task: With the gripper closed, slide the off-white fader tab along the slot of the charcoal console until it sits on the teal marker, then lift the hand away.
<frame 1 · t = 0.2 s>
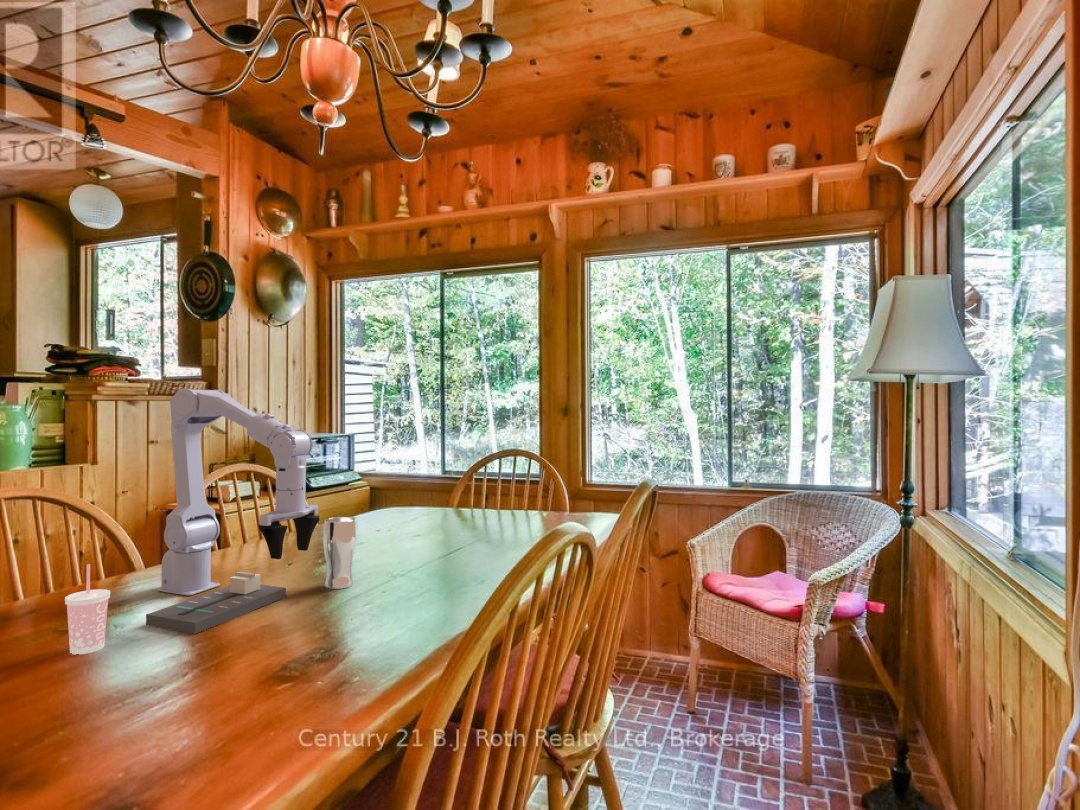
hand: (289, 554, 124), 10 cm above the table, tool pointing down, fingers open, 7 cm apart
fader tab: (245, 581, 124), point 4 cm above the table, slide at 0.0 cm
console: (220, 610, 118), on the table
beverage cup: (87, 650, 99), on the table
beer glass: (339, 586, 136), on the table
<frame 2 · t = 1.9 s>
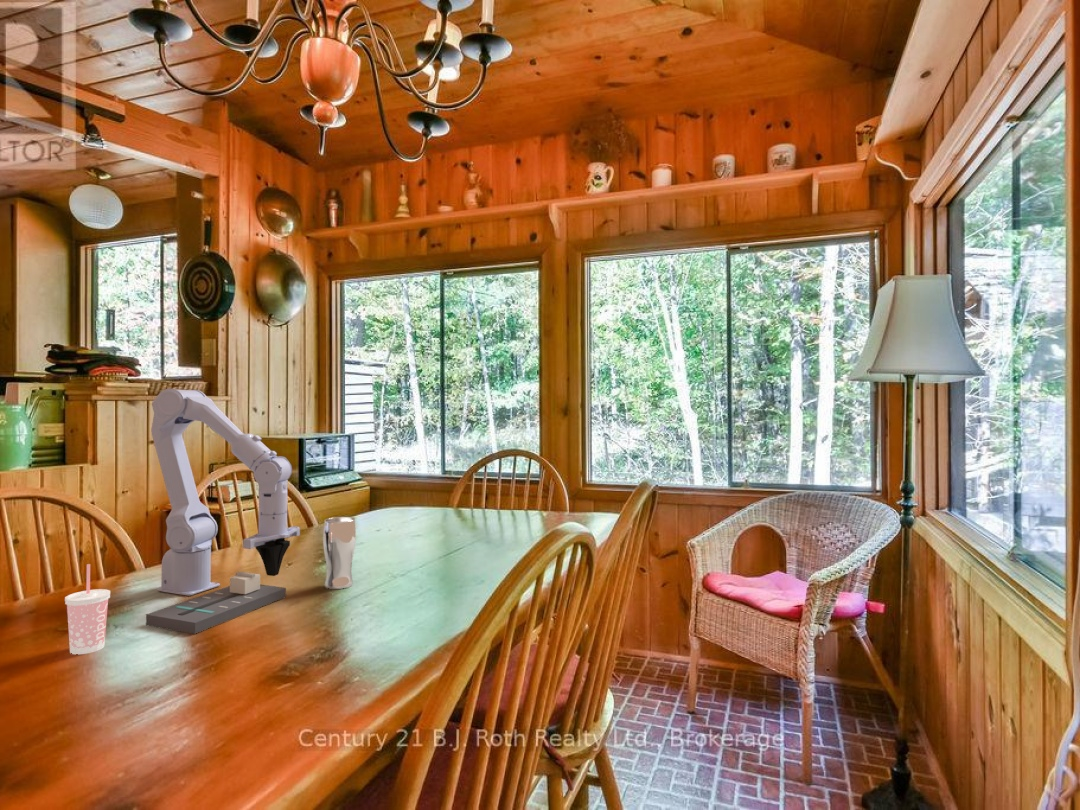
hand: (272, 574, 131), 3 cm above the table, tool pointing down, fingers closed
nothing on the table moved.
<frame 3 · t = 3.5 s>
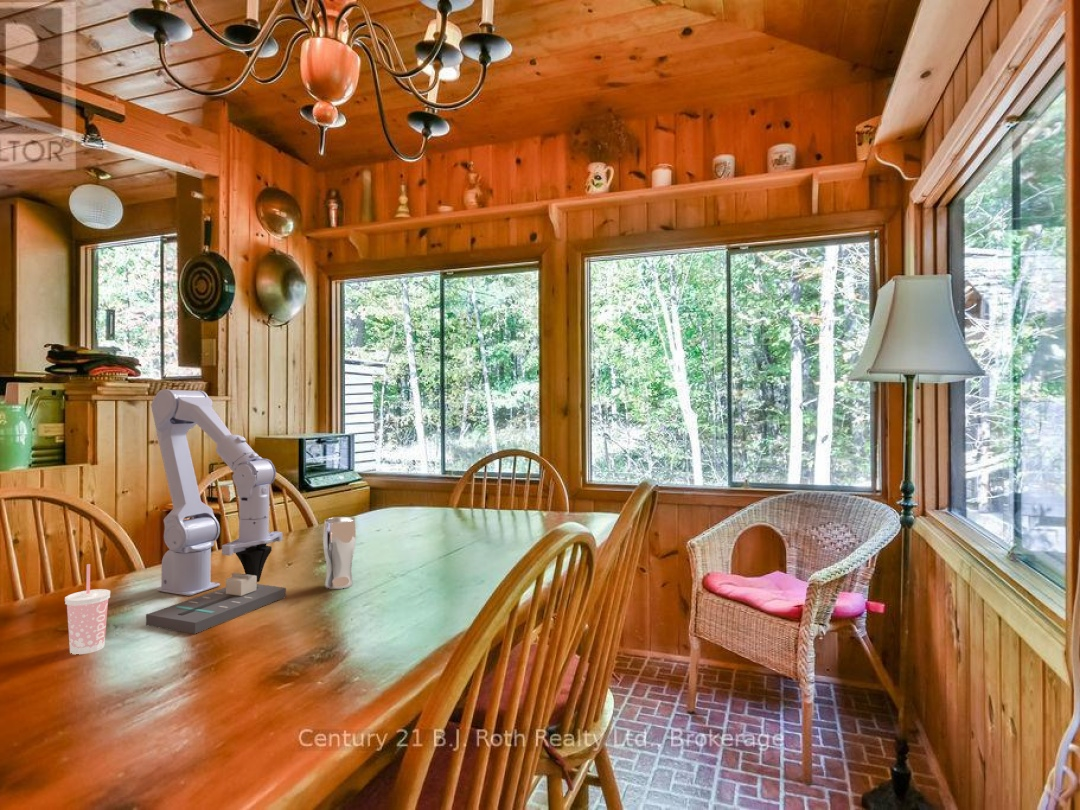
hand: (253, 581, 126), 3 cm above the table, tool pointing down, fingers closed
fader tab: (241, 583, 123), point 4 cm above the table, slide at 1.0 cm, touching gripper
everything else where it was.
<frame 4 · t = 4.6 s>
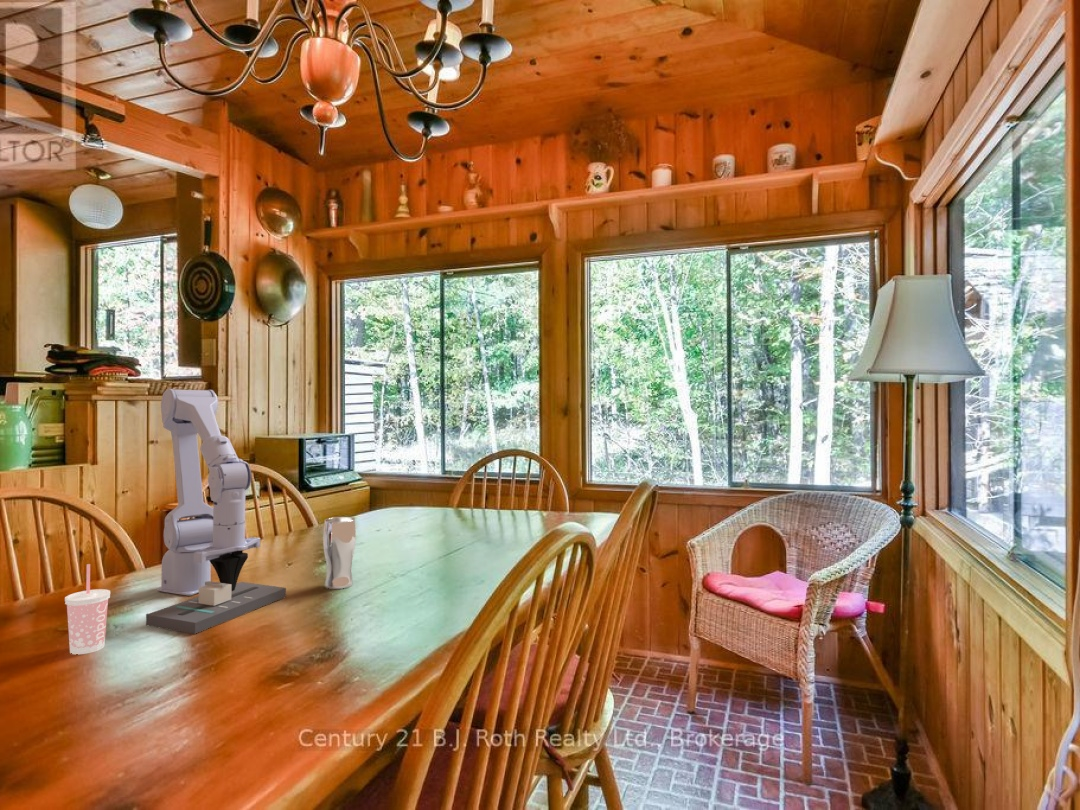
hand: (228, 590, 120), 3 cm above the table, tool pointing down, fingers closed
fader tab: (215, 592, 117), point 4 cm above the table, slide at 7.4 cm, touching gripper
everything else where it was.
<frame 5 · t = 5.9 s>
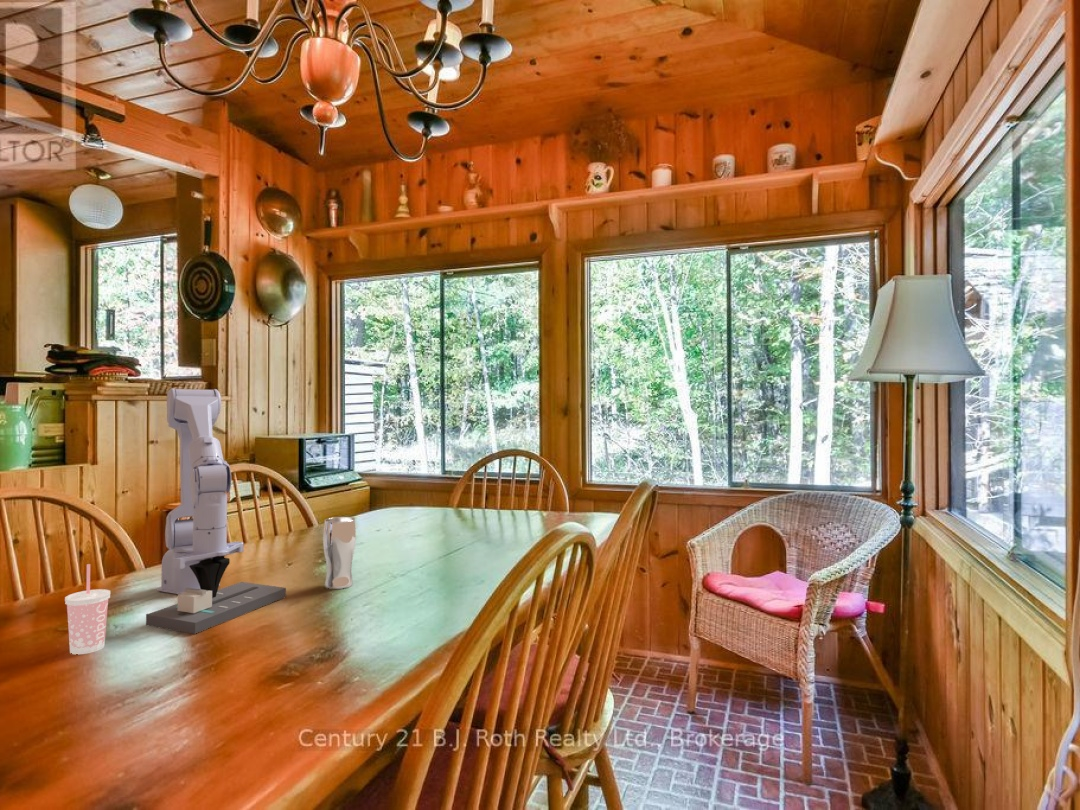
hand: (209, 597, 116), 3 cm above the table, tool pointing down, fingers closed
fader tab: (195, 599, 113), point 4 cm above the table, slide at 11.9 cm, touching gripper
everything else where it was.
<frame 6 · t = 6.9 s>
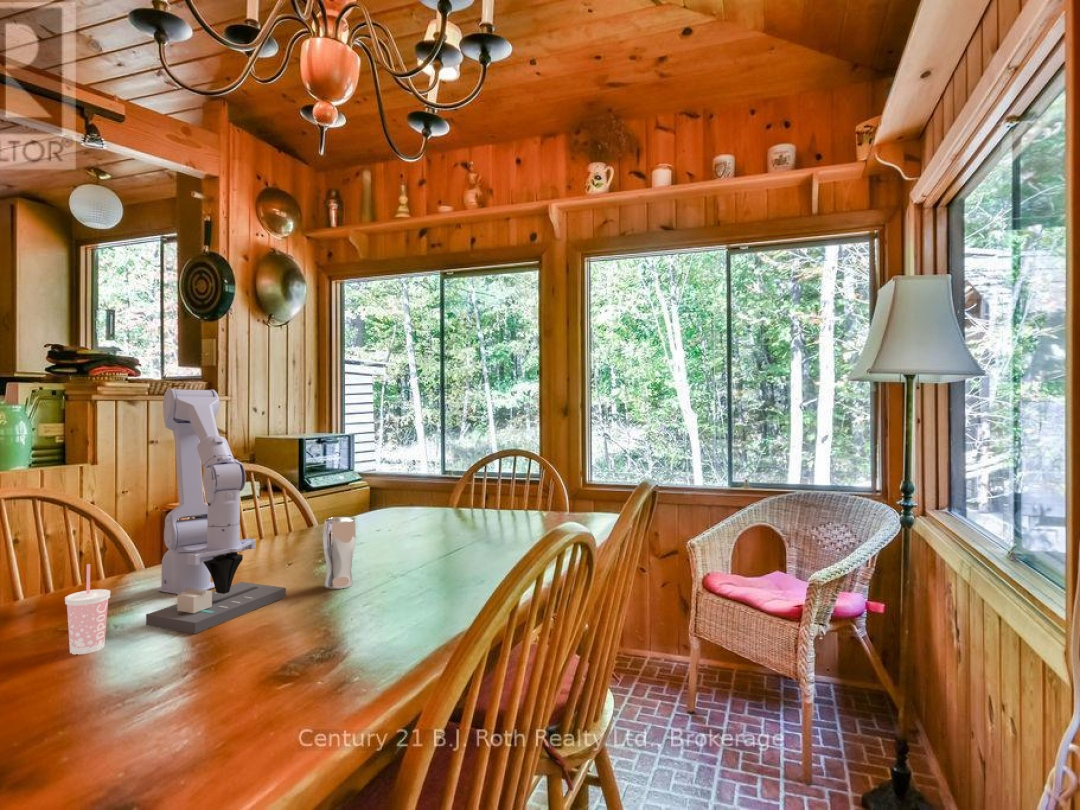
hand: (222, 592, 119), 3 cm above the table, tool pointing down, fingers closed
fader tab: (194, 599, 113), point 4 cm above the table, slide at 11.9 cm
everything else where it was.
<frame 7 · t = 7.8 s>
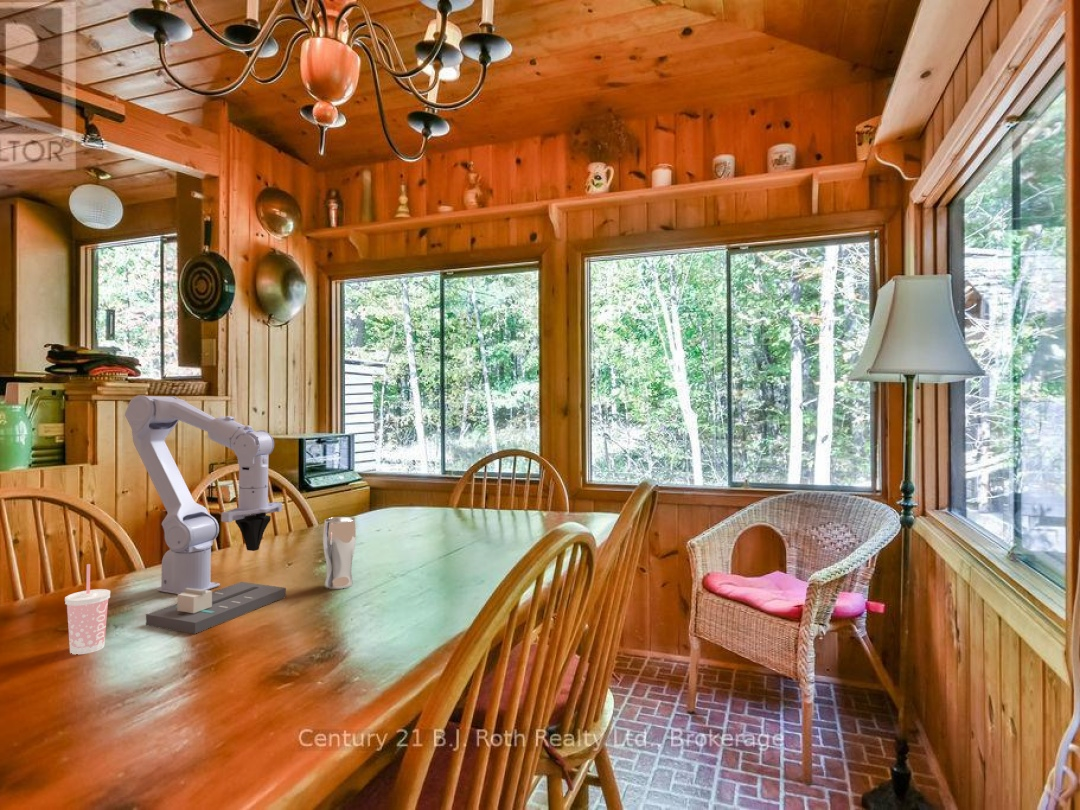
hand: (252, 549, 129), 9 cm above the table, tool pointing down, fingers closed
nothing on the table moved.
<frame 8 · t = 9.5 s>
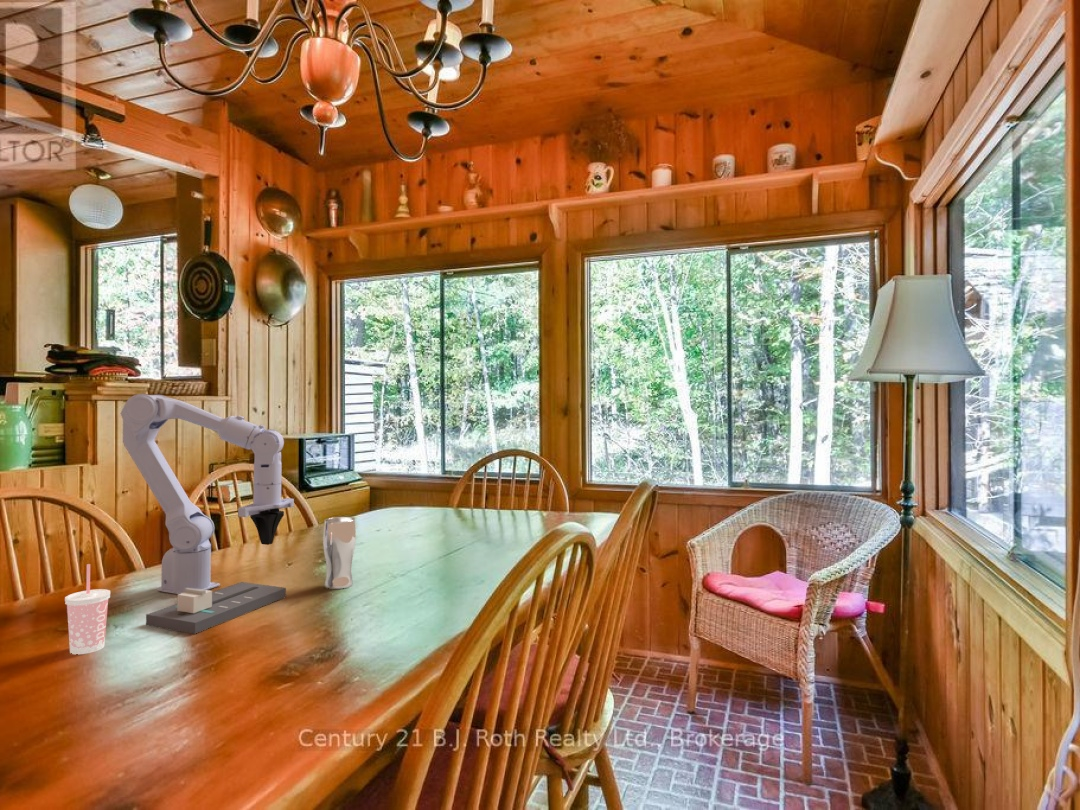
hand: (266, 543, 135), 9 cm above the table, tool pointing down, fingers closed
nothing on the table moved.
at the end: fader tab slide at 11.9 cm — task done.
